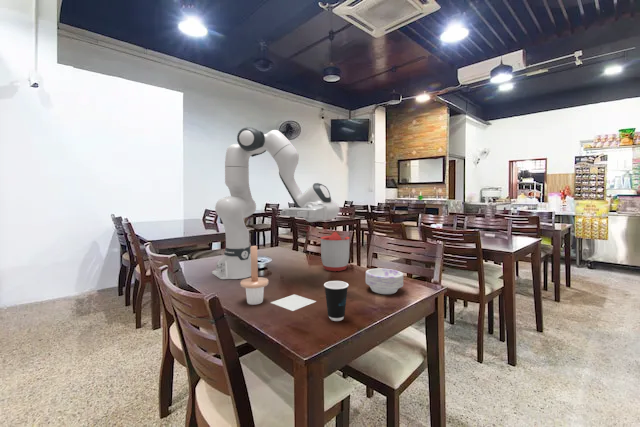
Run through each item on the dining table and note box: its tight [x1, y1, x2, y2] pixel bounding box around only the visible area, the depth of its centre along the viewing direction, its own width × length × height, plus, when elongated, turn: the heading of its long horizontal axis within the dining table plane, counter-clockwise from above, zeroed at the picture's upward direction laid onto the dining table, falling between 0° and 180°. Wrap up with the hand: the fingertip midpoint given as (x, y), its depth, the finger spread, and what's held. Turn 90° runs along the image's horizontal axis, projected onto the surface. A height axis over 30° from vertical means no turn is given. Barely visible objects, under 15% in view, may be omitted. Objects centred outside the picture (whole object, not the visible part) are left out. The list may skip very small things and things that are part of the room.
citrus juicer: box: [320, 231, 350, 272], centre depth 159 cm, size 16×17×20 cm
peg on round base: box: [240, 245, 269, 289], centre depth 109 cm, size 10×10×14 cm
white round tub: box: [245, 286, 265, 306], centre depth 110 cm, size 7×7×7 cm
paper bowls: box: [365, 267, 404, 295], centre depth 122 cm, size 15×15×8 cm
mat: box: [270, 294, 317, 312], centre depth 109 cm, size 12×12×1 cm
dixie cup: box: [323, 280, 350, 322], centre depth 96 cm, size 8×8×11 cm
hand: (288, 213), depth 122 cm, fingers open, 8 cm apart
